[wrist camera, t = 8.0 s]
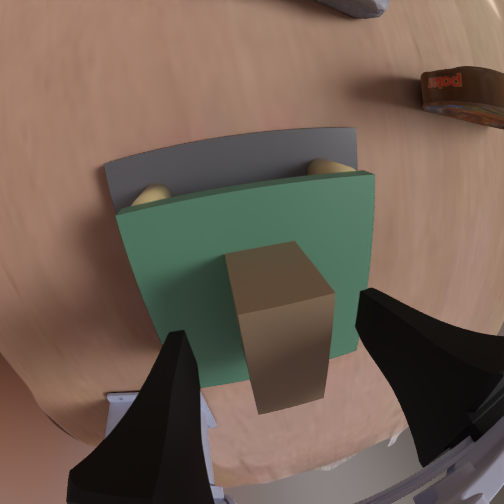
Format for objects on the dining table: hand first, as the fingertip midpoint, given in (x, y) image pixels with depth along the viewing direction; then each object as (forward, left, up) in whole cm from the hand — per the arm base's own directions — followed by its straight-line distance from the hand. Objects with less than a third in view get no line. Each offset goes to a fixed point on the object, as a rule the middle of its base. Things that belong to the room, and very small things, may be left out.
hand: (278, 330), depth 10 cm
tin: (+19, +10, -8) cm, 23 cm away
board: (0, 0, -3) cm, 3 cm away
